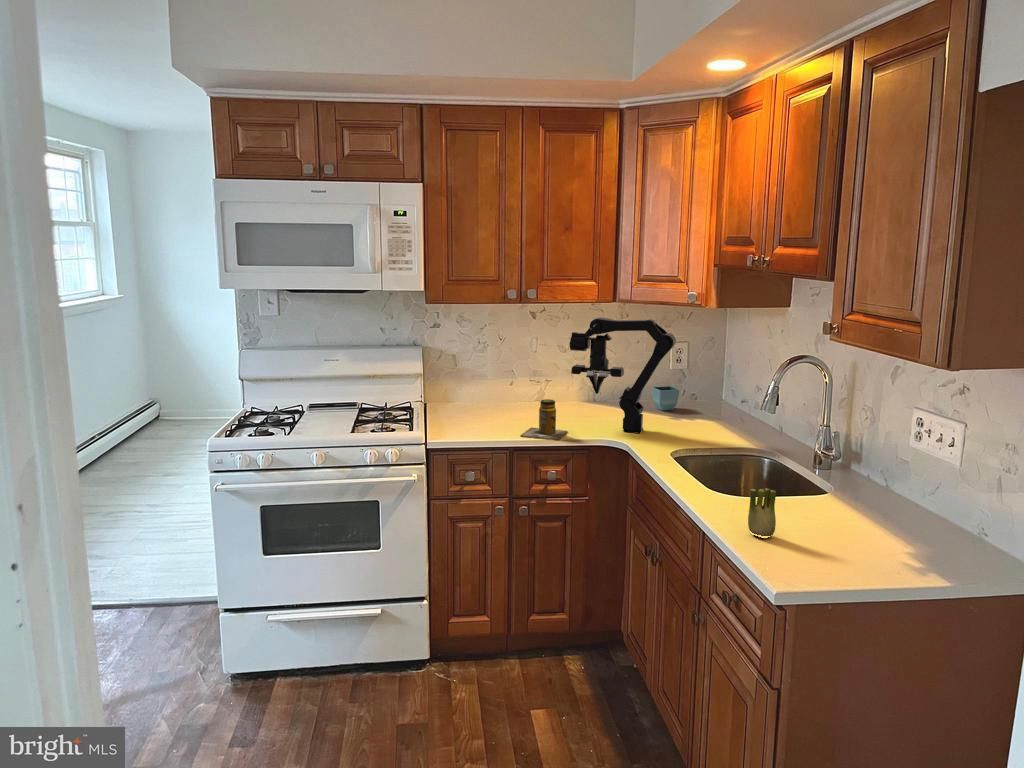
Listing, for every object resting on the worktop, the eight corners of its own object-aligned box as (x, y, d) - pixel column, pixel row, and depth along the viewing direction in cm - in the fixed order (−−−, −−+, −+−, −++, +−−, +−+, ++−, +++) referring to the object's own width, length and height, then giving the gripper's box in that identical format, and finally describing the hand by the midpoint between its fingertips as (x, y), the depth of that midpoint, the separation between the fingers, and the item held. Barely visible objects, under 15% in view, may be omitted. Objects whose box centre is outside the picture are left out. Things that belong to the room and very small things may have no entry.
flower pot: (650, 407, 326) (651, 386, 324) (669, 406, 328) (670, 385, 326) (659, 412, 318) (660, 390, 316) (679, 411, 320) (680, 389, 318)
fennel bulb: (745, 536, 186) (748, 488, 184) (753, 530, 190) (756, 483, 188) (769, 542, 183) (772, 493, 180) (776, 536, 186) (780, 488, 184)
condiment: (560, 433, 279) (561, 401, 277) (541, 437, 275) (541, 403, 273) (548, 429, 285) (549, 397, 283) (529, 432, 281) (529, 400, 279)
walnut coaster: (567, 432, 284) (567, 430, 284) (558, 440, 273) (558, 438, 273) (531, 429, 289) (531, 427, 288) (520, 436, 277) (520, 435, 277)
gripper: (627, 350, 290) (626, 391, 293) (579, 347, 297) (578, 387, 299) (621, 354, 280) (620, 397, 283) (571, 351, 286) (570, 393, 289)
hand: (596, 393), depth 289 cm, fingers closed
